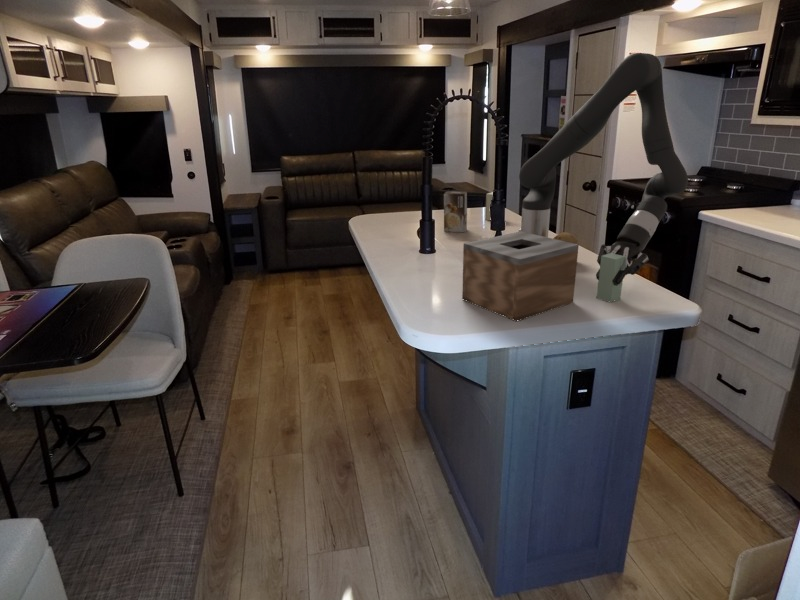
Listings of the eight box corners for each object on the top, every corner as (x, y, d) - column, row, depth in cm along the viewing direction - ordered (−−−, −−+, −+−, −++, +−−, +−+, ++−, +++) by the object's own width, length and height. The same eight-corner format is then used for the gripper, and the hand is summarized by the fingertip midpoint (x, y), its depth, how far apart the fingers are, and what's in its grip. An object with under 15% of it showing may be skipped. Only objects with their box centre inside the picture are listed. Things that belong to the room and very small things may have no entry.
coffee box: (467, 229, 231) (468, 191, 225) (464, 232, 225) (465, 194, 219) (446, 228, 233) (446, 191, 228) (443, 231, 228) (443, 193, 222)
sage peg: (596, 298, 148) (601, 255, 144) (606, 294, 150) (611, 253, 146) (610, 302, 145) (615, 259, 141) (620, 298, 147) (625, 256, 143)
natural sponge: (554, 256, 188) (556, 228, 185) (580, 259, 184) (583, 231, 180) (546, 263, 181) (548, 233, 177) (573, 266, 176) (576, 236, 173)
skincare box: (491, 217, 252) (492, 191, 248) (500, 218, 250) (501, 192, 246) (484, 220, 248) (485, 193, 244) (493, 221, 245) (494, 194, 241)
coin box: (462, 299, 149) (463, 243, 143) (517, 284, 161) (520, 231, 155) (516, 321, 133) (520, 259, 128) (572, 302, 145) (578, 244, 140)
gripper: (610, 218, 150) (578, 268, 148) (658, 227, 139) (625, 280, 137) (619, 234, 155) (588, 282, 153) (666, 243, 144) (634, 295, 142)
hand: (606, 281), depth 145 cm, fingers closed on sage peg, 4 cm apart
